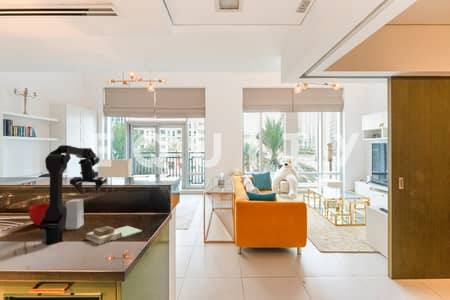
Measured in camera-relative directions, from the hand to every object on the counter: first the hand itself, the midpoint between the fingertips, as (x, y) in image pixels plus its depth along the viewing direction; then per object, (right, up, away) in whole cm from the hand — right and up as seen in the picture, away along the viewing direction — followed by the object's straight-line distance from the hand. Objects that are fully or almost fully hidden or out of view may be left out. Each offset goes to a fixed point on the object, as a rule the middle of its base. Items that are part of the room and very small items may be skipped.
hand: (89, 194), depth 151 cm
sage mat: (+28, -16, -19) cm, 37 cm away
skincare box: (-2, -16, -12) cm, 20 cm away
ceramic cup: (-22, -15, -5) cm, 27 cm away
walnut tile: (+22, -13, -28) cm, 38 cm away
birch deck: (+22, -16, -28) cm, 39 cm away
